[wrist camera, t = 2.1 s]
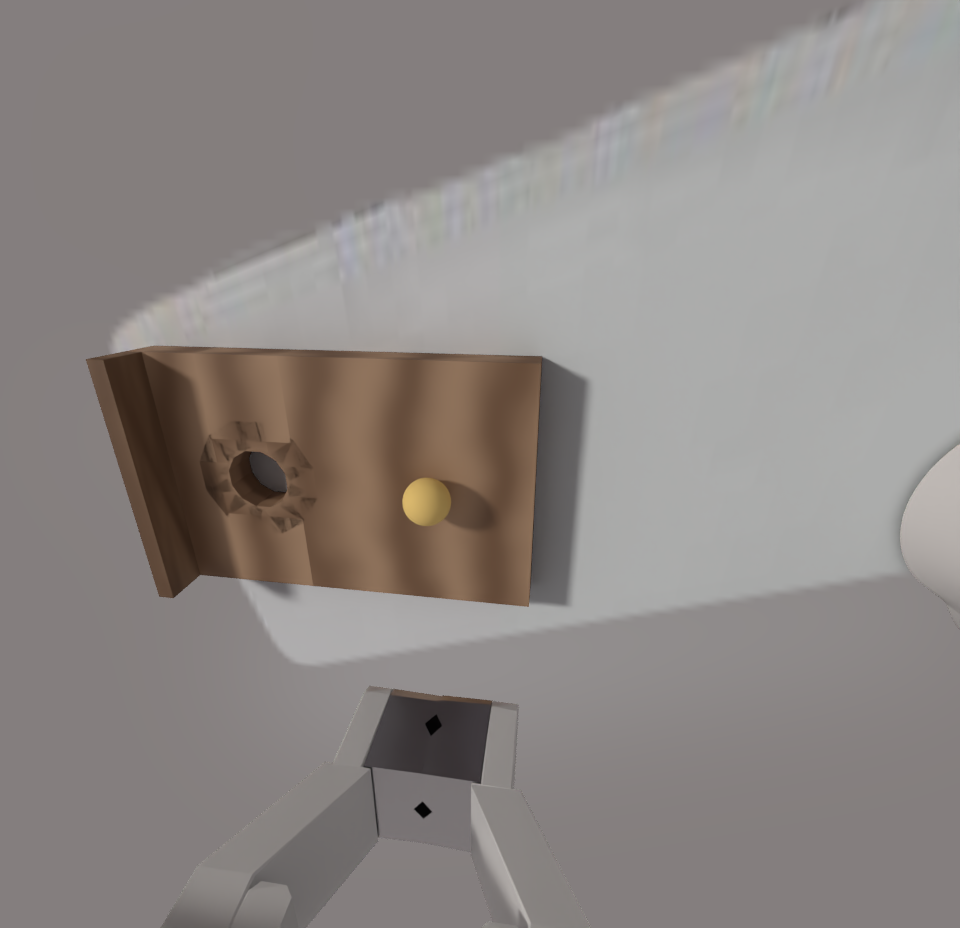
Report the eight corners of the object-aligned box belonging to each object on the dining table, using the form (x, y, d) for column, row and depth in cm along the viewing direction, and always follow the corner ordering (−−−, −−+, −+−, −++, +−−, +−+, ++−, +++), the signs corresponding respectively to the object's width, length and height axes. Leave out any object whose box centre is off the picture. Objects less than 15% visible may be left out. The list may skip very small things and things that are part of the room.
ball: (454, 471, 32) (444, 492, 29) (455, 513, 34) (446, 537, 31) (408, 468, 33) (394, 488, 30) (411, 510, 34) (397, 533, 31)
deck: (542, 356, 31) (539, 374, 26) (530, 586, 38) (526, 635, 33) (153, 345, 35) (85, 359, 30) (207, 556, 42) (159, 596, 37)
